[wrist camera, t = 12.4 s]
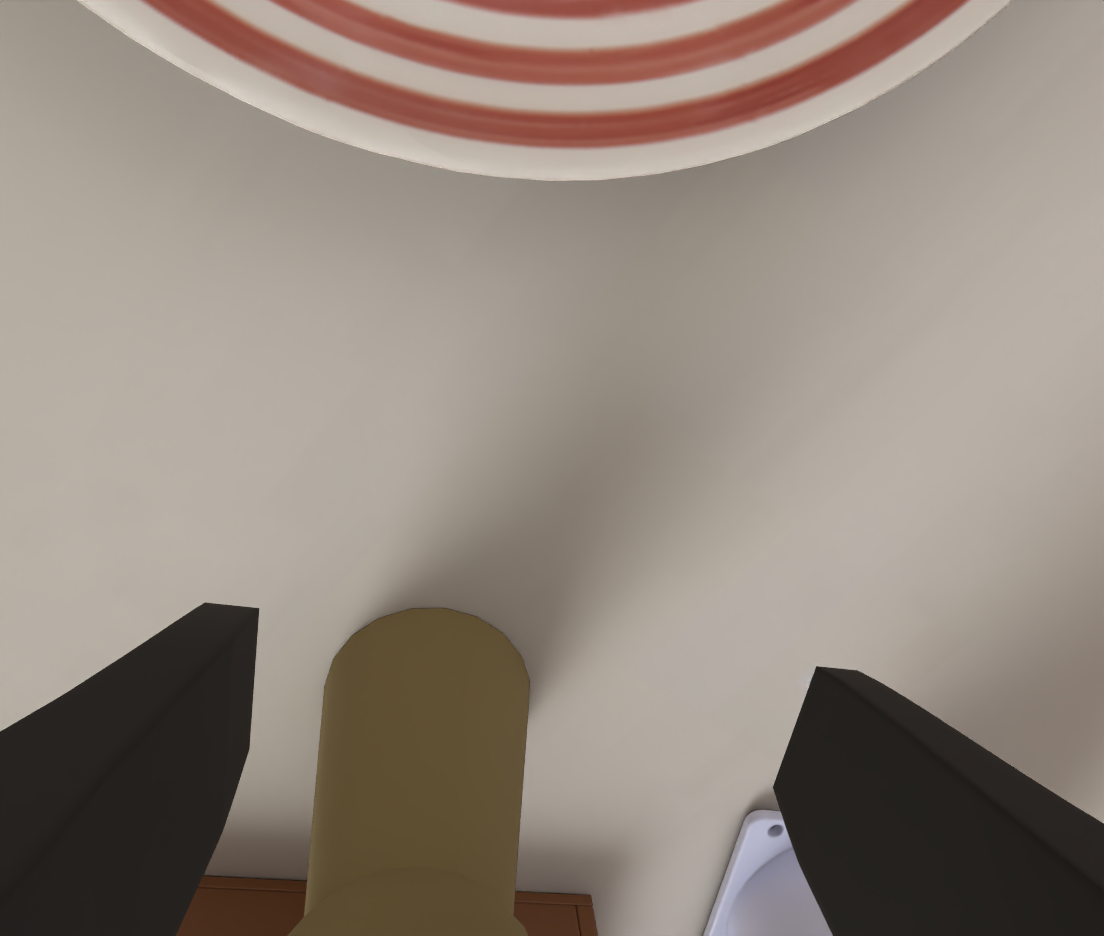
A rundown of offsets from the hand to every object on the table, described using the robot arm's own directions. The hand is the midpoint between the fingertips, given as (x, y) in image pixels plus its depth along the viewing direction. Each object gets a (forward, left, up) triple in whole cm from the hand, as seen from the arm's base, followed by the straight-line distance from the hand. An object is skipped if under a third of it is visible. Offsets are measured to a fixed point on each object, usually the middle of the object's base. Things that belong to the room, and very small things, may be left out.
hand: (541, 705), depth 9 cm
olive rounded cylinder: (+1, +8, -11) cm, 13 cm away
